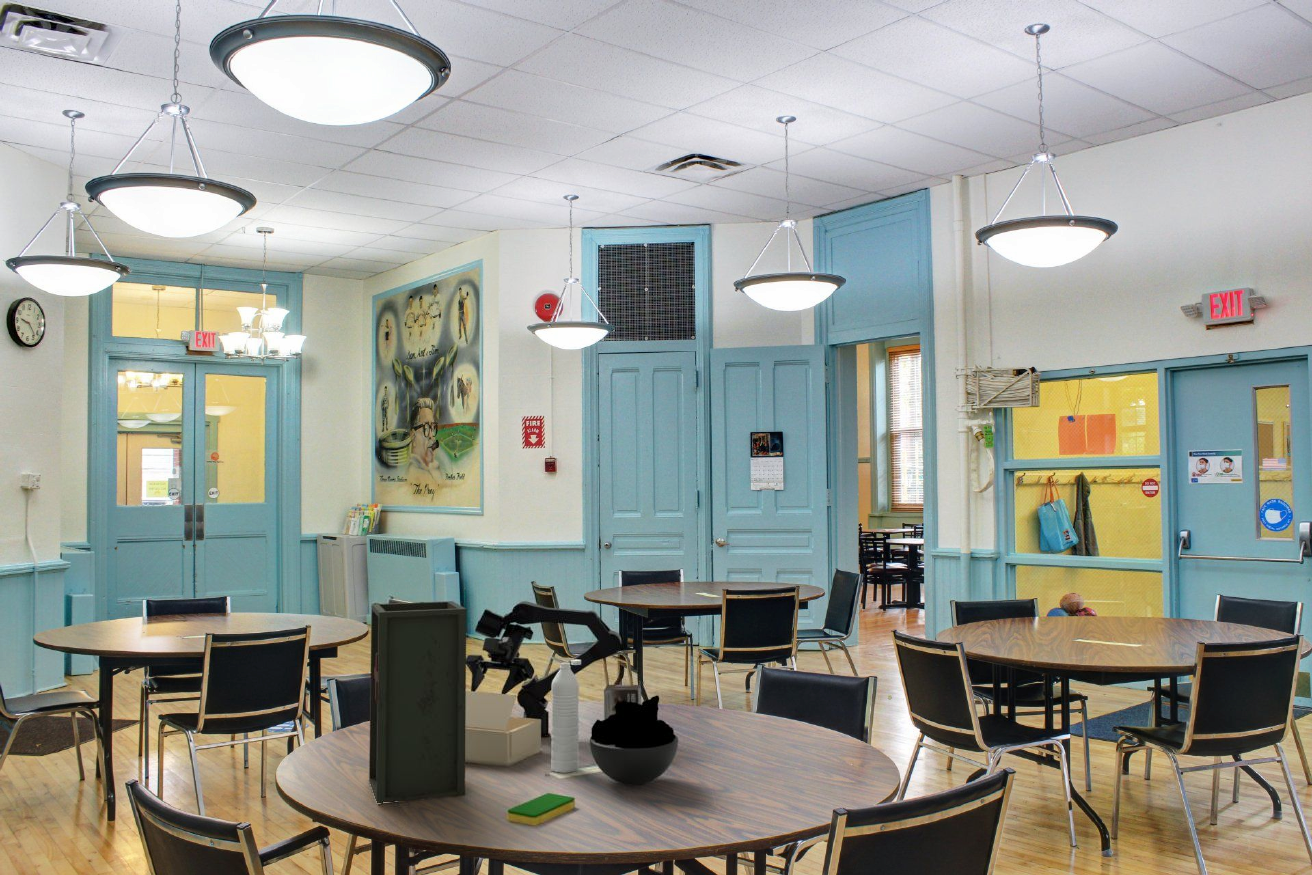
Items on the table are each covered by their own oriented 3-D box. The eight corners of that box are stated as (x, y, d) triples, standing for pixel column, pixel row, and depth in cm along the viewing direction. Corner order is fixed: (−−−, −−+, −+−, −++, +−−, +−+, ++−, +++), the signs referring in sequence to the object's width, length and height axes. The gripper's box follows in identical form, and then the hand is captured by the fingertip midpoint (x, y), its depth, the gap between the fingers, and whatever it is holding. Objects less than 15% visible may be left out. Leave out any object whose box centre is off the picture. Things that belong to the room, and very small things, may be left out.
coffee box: (642, 747, 261) (642, 684, 262) (639, 754, 255) (639, 688, 256) (607, 747, 262) (607, 683, 263) (603, 753, 255) (603, 688, 256)
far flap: (452, 690, 256) (451, 689, 256) (516, 695, 249) (516, 694, 249) (439, 724, 251) (439, 723, 251) (505, 730, 244) (504, 729, 243)
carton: (473, 743, 266) (473, 712, 267) (543, 750, 258) (543, 719, 258) (436, 758, 251) (436, 725, 251) (509, 766, 243) (509, 732, 243)
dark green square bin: (369, 781, 230) (371, 604, 233) (450, 773, 237) (452, 601, 239) (376, 804, 213) (379, 612, 216) (464, 795, 220) (466, 608, 222)
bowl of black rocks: (600, 799, 216) (600, 709, 217) (581, 775, 235) (581, 692, 236) (689, 792, 221) (689, 704, 223) (664, 768, 241) (664, 688, 242)
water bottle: (567, 774, 236) (567, 665, 237) (545, 770, 239) (545, 663, 241) (589, 766, 243) (589, 660, 245) (568, 762, 247) (568, 658, 248)
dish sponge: (575, 808, 211) (575, 797, 211) (534, 827, 199) (534, 814, 199) (548, 803, 215) (548, 792, 215) (506, 821, 203) (506, 809, 203)
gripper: (468, 624, 274) (444, 672, 263) (529, 627, 266) (506, 676, 256) (484, 649, 280) (461, 697, 270) (543, 653, 273) (522, 702, 262)
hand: (487, 693), depth 264 cm, fingers open, 9 cm apart
